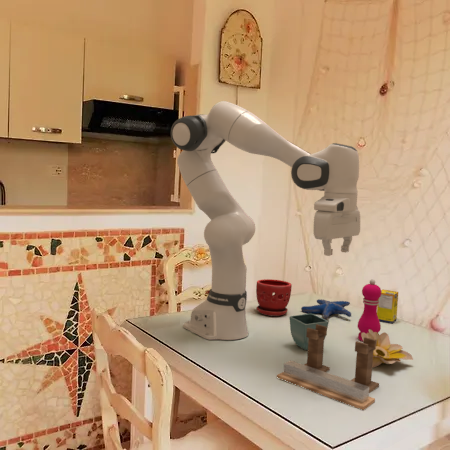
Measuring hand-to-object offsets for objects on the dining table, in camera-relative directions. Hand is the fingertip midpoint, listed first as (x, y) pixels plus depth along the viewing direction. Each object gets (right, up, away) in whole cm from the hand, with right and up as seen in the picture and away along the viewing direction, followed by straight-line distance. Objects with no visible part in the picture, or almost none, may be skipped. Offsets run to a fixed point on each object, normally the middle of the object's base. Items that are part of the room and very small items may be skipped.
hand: (336, 253), depth 137 cm
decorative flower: (+14, -32, +4) cm, 35 cm away
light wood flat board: (-7, -33, -15) cm, 36 cm away
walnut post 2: (+4, -33, -12) cm, 35 cm away
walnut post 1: (-7, -31, -3) cm, 32 cm away
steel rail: (-6, -32, -15) cm, 36 cm away
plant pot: (-13, -26, +51) cm, 58 cm away
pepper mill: (+16, -30, +24) cm, 41 cm away
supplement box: (+29, -28, +47) cm, 62 cm away
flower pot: (-6, -30, +15) cm, 34 cm away
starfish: (+8, -26, +52) cm, 59 cm away
